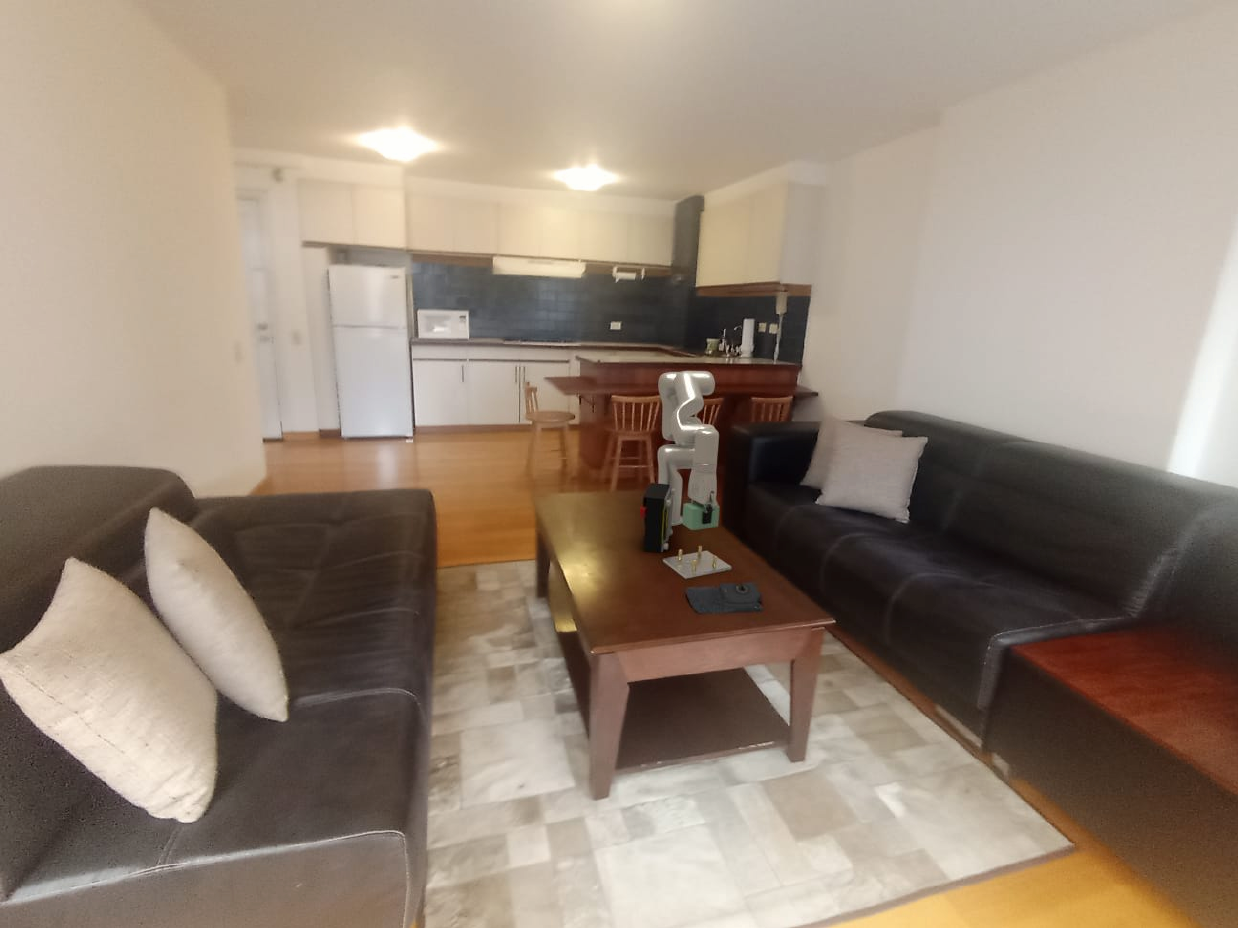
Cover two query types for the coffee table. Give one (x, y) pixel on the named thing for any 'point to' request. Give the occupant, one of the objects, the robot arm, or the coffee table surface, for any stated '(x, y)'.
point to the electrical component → (657, 516)
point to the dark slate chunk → (725, 598)
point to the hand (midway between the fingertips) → (700, 519)
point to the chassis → (696, 563)
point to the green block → (698, 516)
